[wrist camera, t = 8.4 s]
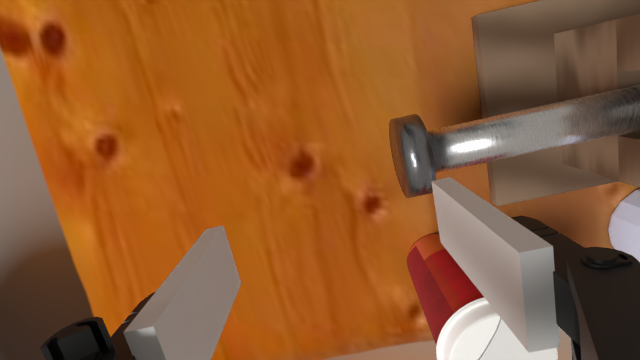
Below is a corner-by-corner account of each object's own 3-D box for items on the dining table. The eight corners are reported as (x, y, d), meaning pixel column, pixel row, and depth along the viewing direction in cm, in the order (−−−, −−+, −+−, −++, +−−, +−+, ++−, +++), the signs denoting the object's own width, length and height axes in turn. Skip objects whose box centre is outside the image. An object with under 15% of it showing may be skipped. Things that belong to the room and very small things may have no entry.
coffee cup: (435, 306, 40) (502, 431, 25) (380, 264, 39) (417, 369, 24) (490, 253, 38) (594, 352, 24) (434, 206, 37) (508, 281, 23)
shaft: (385, 116, 27) (401, 122, 22) (628, 62, 26) (709, 55, 21) (397, 186, 29) (415, 208, 23) (629, 137, 28) (705, 149, 22)
